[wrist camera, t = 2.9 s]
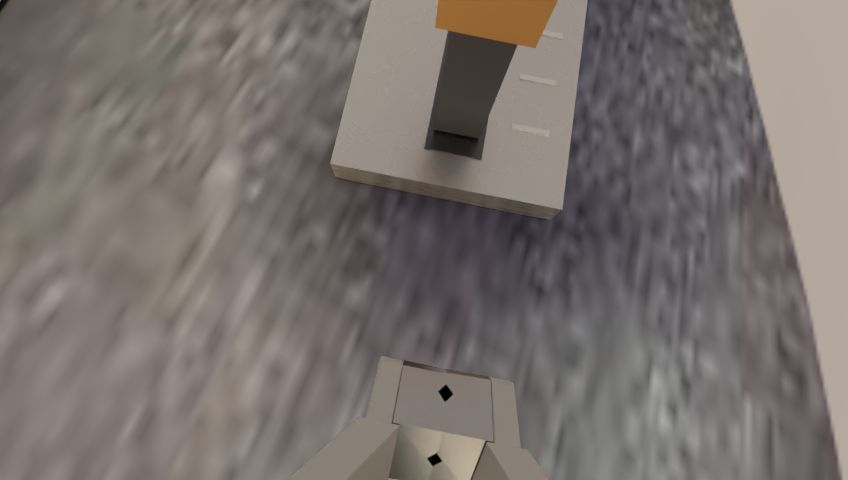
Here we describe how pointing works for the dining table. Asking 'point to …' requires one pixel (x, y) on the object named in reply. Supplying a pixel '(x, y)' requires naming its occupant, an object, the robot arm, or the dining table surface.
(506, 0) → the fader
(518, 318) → the dining table surface
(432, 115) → the console board
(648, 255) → the dining table surface
